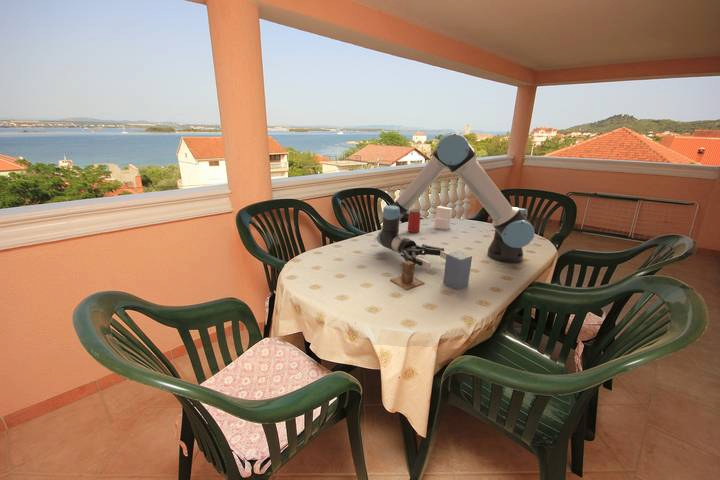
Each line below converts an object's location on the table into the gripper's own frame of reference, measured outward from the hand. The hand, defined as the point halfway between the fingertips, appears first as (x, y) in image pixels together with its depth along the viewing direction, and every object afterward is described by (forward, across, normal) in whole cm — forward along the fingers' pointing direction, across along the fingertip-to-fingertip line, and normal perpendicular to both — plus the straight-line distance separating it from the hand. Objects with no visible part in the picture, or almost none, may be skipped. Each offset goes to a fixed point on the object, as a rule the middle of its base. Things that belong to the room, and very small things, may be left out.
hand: (442, 262), depth 122 cm
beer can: (-50, -34, -7) cm, 61 cm away
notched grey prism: (+7, 0, -6) cm, 9 cm away
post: (-4, +14, -6) cm, 16 cm away
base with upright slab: (-46, -55, -7) cm, 72 cm away
